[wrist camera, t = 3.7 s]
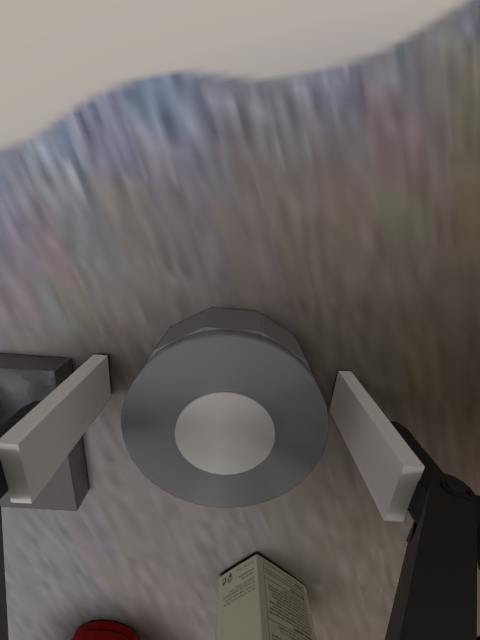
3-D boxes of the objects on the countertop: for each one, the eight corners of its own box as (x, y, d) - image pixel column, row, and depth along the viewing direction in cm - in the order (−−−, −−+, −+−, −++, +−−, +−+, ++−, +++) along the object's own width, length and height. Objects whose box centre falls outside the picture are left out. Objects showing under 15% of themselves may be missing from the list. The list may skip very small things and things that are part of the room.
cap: (320, 315, 15) (350, 348, 11) (295, 451, 18) (311, 516, 14) (147, 302, 14) (111, 331, 10) (151, 442, 17) (125, 506, 13)
